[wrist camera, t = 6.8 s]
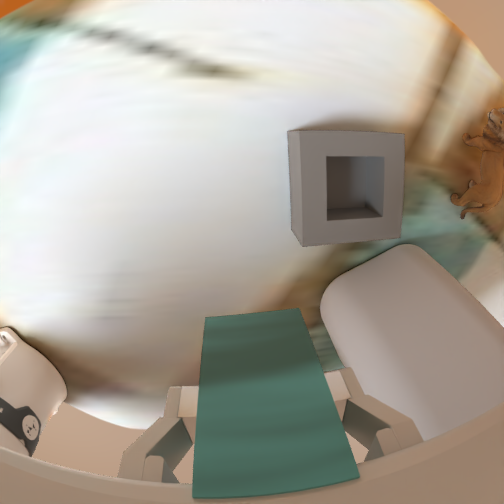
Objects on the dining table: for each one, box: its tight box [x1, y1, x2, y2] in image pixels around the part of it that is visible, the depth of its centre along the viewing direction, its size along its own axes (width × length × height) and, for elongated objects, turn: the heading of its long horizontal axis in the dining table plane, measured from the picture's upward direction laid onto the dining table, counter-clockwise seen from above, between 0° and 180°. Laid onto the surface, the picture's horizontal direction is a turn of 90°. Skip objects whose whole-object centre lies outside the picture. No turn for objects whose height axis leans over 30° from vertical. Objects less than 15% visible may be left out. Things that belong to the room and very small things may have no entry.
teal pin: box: [192, 308, 360, 499], centre depth 10 cm, size 4×4×8 cm
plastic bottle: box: [320, 244, 504, 441], centre depth 23 cm, size 15×15×28 cm
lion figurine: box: [451, 108, 504, 219], centre depth 25 cm, size 15×5×9 cm, turn 179°
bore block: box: [287, 130, 405, 247], centre depth 27 cm, size 10×10×5 cm
